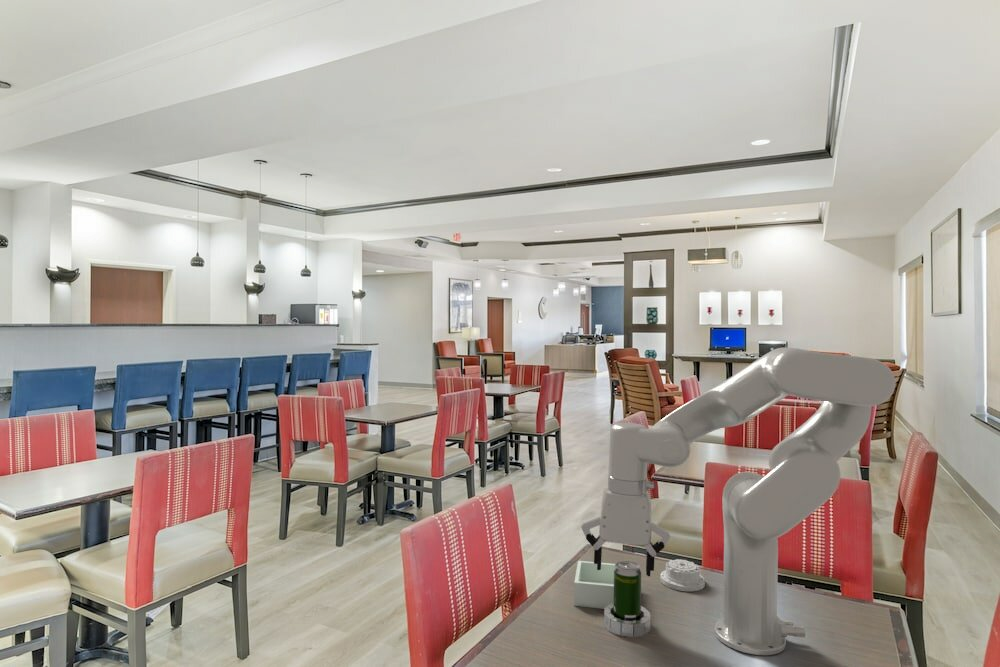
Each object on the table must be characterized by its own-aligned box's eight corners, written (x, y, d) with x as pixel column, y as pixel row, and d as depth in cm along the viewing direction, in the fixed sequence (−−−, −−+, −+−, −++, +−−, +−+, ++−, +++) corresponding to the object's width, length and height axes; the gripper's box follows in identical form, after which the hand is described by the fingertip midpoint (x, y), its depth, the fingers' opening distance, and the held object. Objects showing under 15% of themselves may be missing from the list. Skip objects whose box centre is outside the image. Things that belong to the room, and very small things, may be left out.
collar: (649, 616, 120) (649, 604, 120) (651, 639, 112) (651, 626, 112) (604, 612, 122) (604, 600, 122) (603, 634, 113) (603, 621, 113)
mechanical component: (661, 590, 133) (707, 594, 131) (661, 571, 133) (707, 575, 131) (659, 572, 143) (701, 576, 141) (659, 554, 143) (701, 558, 141)
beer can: (645, 630, 115) (646, 569, 115) (620, 633, 114) (620, 572, 114) (633, 617, 120) (634, 559, 120) (609, 620, 119) (609, 561, 119)
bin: (630, 586, 134) (630, 565, 134) (631, 611, 123) (631, 587, 122) (578, 581, 137) (578, 560, 137) (574, 605, 125) (574, 582, 125)
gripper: (670, 484, 119) (666, 568, 119) (584, 476, 122) (581, 558, 122) (673, 495, 111) (669, 584, 111) (582, 486, 115) (578, 572, 115)
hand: (623, 570), depth 117 cm, fingers open, 9 cm apart
